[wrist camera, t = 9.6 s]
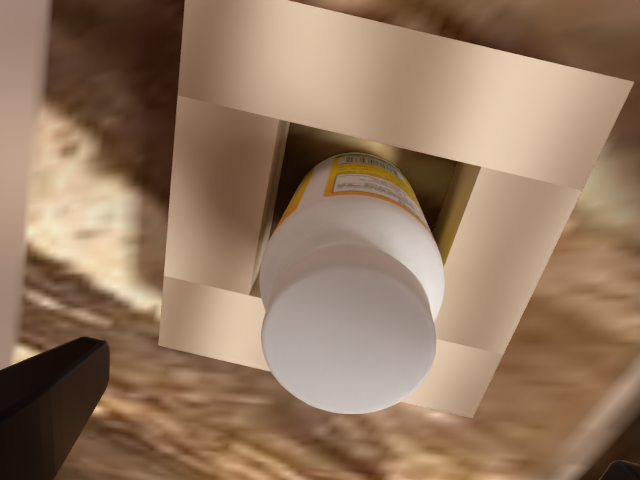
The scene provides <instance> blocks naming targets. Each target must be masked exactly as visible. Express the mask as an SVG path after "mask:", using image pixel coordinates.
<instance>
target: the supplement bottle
mask: <svg viewBox="0 0 640 480" xmlns="http://www.w3.org/2000/svg"><path fill="white" fill-rule="evenodd" d="M259 284H260V293H261V298H262V302H263V305H264V308H265V311H266V312H265V315H264V319H263V324H262V329H261V343H262V349H263V354H264V357H265V360H266V363H267V365H268V367H269V369H270V370H271V372H272V374H273V375H274V376H275V378H276V379H277V380H278V381H279V383H280V384H281V385H282V386H283V387H284V388H285V389H286V390H287V391H289V392H290V393H291V394H293V395H294V396H295V397H297V398H298V399H300V400H302V401H303V402H305V403H307V404H309V405H311V406H313V407H316V408H319V409H322V410H326V411H330V412H335V413H343V414H362V413H370V412H375V411H378V410H382V409H385V408H388V407H390V406H392V405H395V404H397V403H398V402H400V401H402V400H403V399H405V398H407V397H408V396H409V395H410V394H412V393H413V392H414V391H415V390H416V389H417V388H418V387H419V386H420V384H421V383H422V382H423V380H424V379H425V378H426V377H427V375H428V373H429V371H430V369H431V367H432V364H433V361H434V357H435V354H436V331H435V325H434V321H435V319H436V317H437V315H438V313H439V310H440V307H441V305H442V301H443V296H444V288H445V276H444V267H443V262H442V258H441V255H440V252H439V249H438V247H437V244H436V242H435V240H434V238H433V235H432V233H431V231H430V229H429V226H428V224H427V221H426V219H425V217H424V214H423V212H422V210H421V207H420V205H419V203H418V201H417V198H416V196H415V194H414V191H413V189H412V187H411V185H410V183H409V182H408V180H407V179H406V177H405V176H404V175H403V174H402V173H401V171H399V170H398V169H397V168H396V167H395V166H394V165H392V164H391V163H390V162H388V161H386V160H384V159H382V158H380V157H377V156H374V155H371V154H366V153H359V152H351V153H343V154H338V155H335V156H332V157H330V158H327V159H325V160H324V161H322V162H320V163H319V164H317V165H316V166H315V167H314V168H312V169H311V170H310V171H309V172H308V173H307V175H306V176H305V177H304V178H303V180H302V181H301V183H300V184H299V186H298V188H297V190H296V192H295V193H294V195H293V197H292V199H291V201H290V203H289V205H288V207H287V209H286V210H285V212H284V214H283V216H282V218H281V220H280V221H279V223H278V225H277V227H276V229H275V230H274V231H273V234H272V235H271V238H270V240H269V242H268V244H267V246H266V249H265V252H264V255H263V258H262V262H261V267H260V276H259Z"/></svg>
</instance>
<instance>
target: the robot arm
mask: <svg viewBox="0 0 640 480" xmlns="http://www.w3.org/2000/svg"><path fill="white" fill-rule="evenodd" d="M109 369H110V346H109V343H108V342H107V341H106V340H103V339H99V338H95V337H90V336H82V337H79V338H76V339H74V340H72V341H69V342H67V343H64V344H62V345H60V346H57V347H55V348H52V349H50V350H48V351H45V352H43V353H40V354H38V355H35V356H33V357H31V358H28V359H26V360H23V361H21V362H19V363H16V364H14V365H11V366H9V367H7V368H4V369H2V370H0V480H53V479H54V478H55V476H56V474H57V473H58V471H59V470H60V468H61V466H62V465H63V463H64V461H65V460H66V458H67V456H68V454H69V453H70V451H71V449H72V447H73V446H74V444H75V442H76V440H77V439H78V437H79V435H80V433H81V432H82V430H83V428H84V426H85V425H86V423H87V421H88V419H89V418H90V416H91V414H92V413H93V411H94V409H95V407H96V406H97V404H98V402H99V400H100V399H101V397H102V395H103V393H104V392H105V390H106V387H107V385H108V381H109ZM599 480H640V465H639V464H636V463H632V462H627V461H623V460H616V461H613V462H612V463H611V464H610V465H609V467H608V468H607V469H606V471H605V472H604V474H603V475H602V477H601V478H600V479H599Z"/></svg>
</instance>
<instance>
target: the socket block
mask: <svg viewBox="0 0 640 480" xmlns="http://www.w3.org/2000/svg"><path fill="white" fill-rule="evenodd" d="M633 84H634V82H632V81H628V80H623V79H619V78H615V77H611V76H607V75H602V74H598V73H594V72H590V71H585V70H581V69H577V68H573V67H568V66H564V65H560V64H556V63H551V62H547V61H543V60H539V59H535V58H530V57H526V56H522V55H518V54H513V53H509V52H505V51H501V50H496V49H492V48H488V47H484V46H479V45H475V44H471V43H467V42H462V41H458V40H454V39H450V38H446V37H441V36H437V35H433V34H429V33H424V32H420V31H416V30H412V29H407V28H403V27H399V26H395V25H390V24H386V23H382V22H378V21H374V20H369V19H365V18H361V17H357V16H352V15H348V14H344V13H340V12H335V11H331V10H327V9H323V8H318V7H314V6H310V5H306V4H302V3H297V2H293V1H289V0H185V6H184V19H183V32H182V45H181V58H180V72H179V85H178V98H177V111H176V124H175V137H174V150H173V163H172V176H171V189H170V202H169V215H168V228H167V241H166V254H165V267H164V280H163V293H162V306H161V319H160V332H159V346H163V347H167V348H172V349H176V350H180V351H185V352H189V353H193V354H198V355H202V356H206V357H210V358H215V359H219V360H223V361H228V362H232V363H236V364H241V365H245V366H249V367H254V368H258V369H262V370H267V371H271V370H270V369H269V367H268V365H267V363H266V360H265V357H264V354H263V349H262V343H261V329H262V324H263V319H264V315H265V312H266V311H265V308H264V305H263V302H262V298H261V293H260V284H259V276H260V267H261V262H262V258H263V255H264V252H265V249H266V246H267V244H268V241H269V235H270V230H271V224H272V219H273V213H274V208H275V202H276V197H277V191H278V186H279V180H280V175H281V169H282V164H283V158H284V153H285V147H286V142H287V136H288V131H289V125H290V122H293V123H297V124H302V125H306V126H310V127H314V128H319V129H323V130H327V131H331V132H336V133H340V134H344V135H348V136H353V137H357V138H361V139H365V140H370V141H374V142H378V143H382V144H387V145H391V146H395V147H400V148H404V149H408V150H412V151H417V152H421V153H425V154H429V155H434V156H438V157H442V158H446V159H451V160H455V161H457V164H456V167H455V169H454V172H453V175H452V178H451V181H450V184H449V187H448V190H447V192H446V195H445V198H444V201H443V204H442V207H441V210H440V212H439V215H438V218H437V221H436V224H435V227H434V230H433V233H432V235H433V238H434V240H435V242H436V244H437V247H438V249H439V252H440V255H441V258H442V262H443V267H444V276H445V288H444V296H443V301H442V305H441V307H440V310H439V313H438V315H437V317H436V319H435V321H434V325H435V331H436V354H435V357H434V361H433V364H432V367H431V369H430V371H429V373H428V375H427V377H426V378H425V379H424V380H423V382H422V383H421V384H420V386H419V387H418V388H417V389H416V390H415V391H414V392H413V393H412V394H410V395H409V396H408V397H407V398H405V399H403V400H402V401H400V402H405V403H409V404H413V405H417V406H422V407H426V408H430V409H435V410H439V411H443V412H448V413H452V414H456V415H461V416H465V417H469V418H473V416H474V414H475V412H476V410H477V408H478V406H479V404H480V401H481V399H482V397H483V395H484V393H485V391H486V389H487V387H488V385H489V383H490V381H491V379H492V377H493V375H494V372H495V370H496V368H497V366H498V364H499V362H500V360H501V358H502V356H503V354H504V352H505V350H506V348H507V345H508V343H509V341H510V339H511V337H512V335H513V333H514V331H515V329H516V327H517V325H518V323H519V321H520V318H521V316H522V314H523V312H524V310H525V308H526V306H527V304H528V302H529V300H530V298H531V296H532V294H533V291H534V289H535V287H536V285H537V283H538V281H539V279H540V277H541V275H542V273H543V271H544V269H545V267H546V264H547V262H548V260H549V258H550V256H551V254H552V252H553V250H554V248H555V246H556V244H557V242H558V240H559V238H560V235H561V233H562V231H563V229H564V227H565V225H566V223H567V221H568V219H569V217H570V215H571V213H572V211H573V208H574V206H575V204H576V202H577V200H578V198H579V196H580V194H581V192H582V190H583V188H584V186H585V184H586V181H587V179H588V177H589V175H590V173H591V171H592V169H593V167H594V165H595V163H596V161H597V159H598V157H599V154H600V152H601V150H602V148H603V146H604V144H605V142H606V140H607V138H608V136H609V134H610V132H611V130H612V127H613V125H614V123H615V121H616V119H617V117H618V115H619V113H620V111H621V109H622V107H623V105H624V103H625V100H626V98H627V96H628V94H629V92H630V90H631V88H632V86H633Z"/></svg>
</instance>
